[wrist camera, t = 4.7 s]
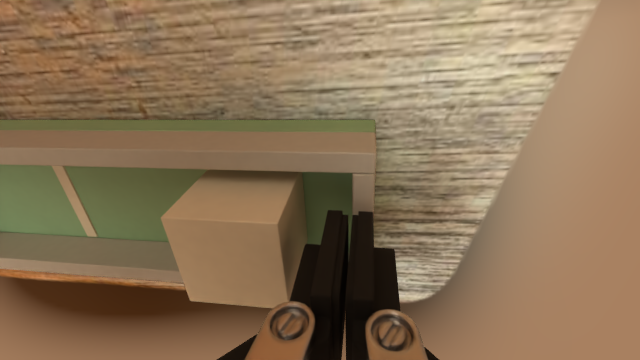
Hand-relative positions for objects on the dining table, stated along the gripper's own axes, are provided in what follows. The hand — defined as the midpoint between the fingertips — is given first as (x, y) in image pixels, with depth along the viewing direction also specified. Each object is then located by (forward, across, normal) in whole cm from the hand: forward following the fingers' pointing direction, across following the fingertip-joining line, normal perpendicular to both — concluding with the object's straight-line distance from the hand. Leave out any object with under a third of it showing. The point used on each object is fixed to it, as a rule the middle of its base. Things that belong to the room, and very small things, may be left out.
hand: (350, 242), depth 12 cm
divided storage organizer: (+4, +10, 0) cm, 11 cm away
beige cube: (+2, +4, 0) cm, 5 cm away
